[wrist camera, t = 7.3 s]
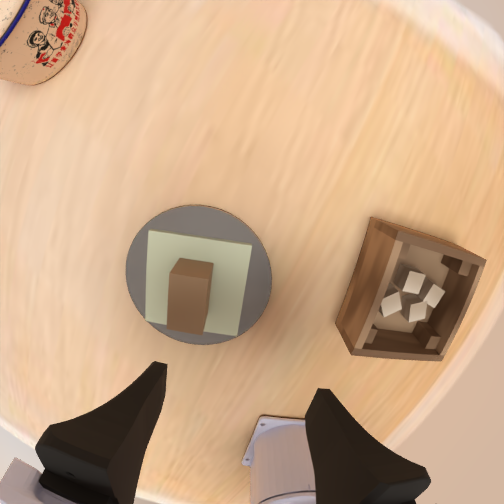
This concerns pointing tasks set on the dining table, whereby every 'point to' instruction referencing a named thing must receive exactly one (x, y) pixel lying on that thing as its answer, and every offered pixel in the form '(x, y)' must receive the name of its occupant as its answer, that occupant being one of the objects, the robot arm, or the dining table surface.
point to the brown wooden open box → (407, 294)
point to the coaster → (208, 225)
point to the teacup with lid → (38, 38)
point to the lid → (195, 282)
